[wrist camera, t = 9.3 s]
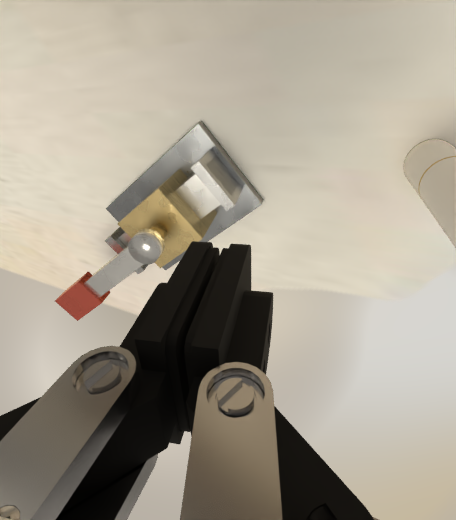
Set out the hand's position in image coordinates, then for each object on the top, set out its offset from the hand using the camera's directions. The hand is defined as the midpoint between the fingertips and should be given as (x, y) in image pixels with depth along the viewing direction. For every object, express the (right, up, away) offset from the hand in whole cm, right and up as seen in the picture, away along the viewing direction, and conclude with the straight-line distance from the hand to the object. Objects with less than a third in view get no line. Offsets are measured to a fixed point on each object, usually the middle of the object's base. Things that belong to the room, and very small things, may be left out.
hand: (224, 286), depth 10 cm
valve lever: (-11, 0, +24) cm, 26 cm away
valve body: (-5, +7, +29) cm, 30 cm away
